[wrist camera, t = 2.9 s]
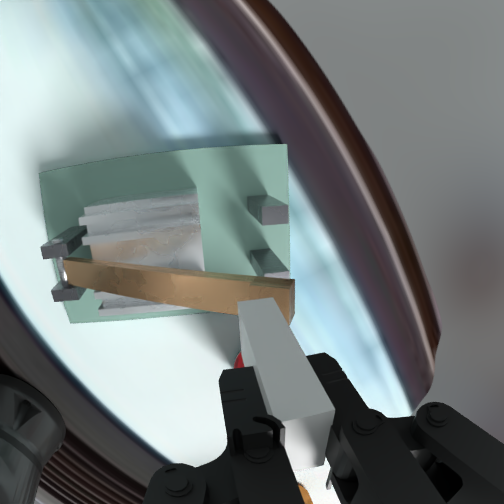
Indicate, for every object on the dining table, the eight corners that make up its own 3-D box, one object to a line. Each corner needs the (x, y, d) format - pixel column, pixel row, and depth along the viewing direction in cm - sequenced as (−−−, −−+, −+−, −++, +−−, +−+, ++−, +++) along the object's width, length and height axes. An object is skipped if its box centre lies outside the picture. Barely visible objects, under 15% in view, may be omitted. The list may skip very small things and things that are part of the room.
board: (73, 318, 30) (70, 323, 29) (44, 172, 25) (39, 173, 24) (286, 296, 34) (290, 301, 32) (283, 144, 29) (286, 144, 27)
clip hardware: (85, 276, 29) (57, 312, 21) (73, 214, 27) (37, 234, 19) (267, 257, 32) (291, 289, 24) (265, 193, 30) (290, 206, 22)
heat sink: (116, 289, 28) (101, 321, 22) (101, 198, 26) (77, 211, 20) (205, 280, 30) (209, 312, 24) (196, 187, 27) (197, 195, 21)
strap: (75, 280, 22) (64, 286, 21) (70, 256, 21) (59, 261, 20) (294, 314, 16) (289, 325, 15) (294, 279, 15) (289, 289, 14)
